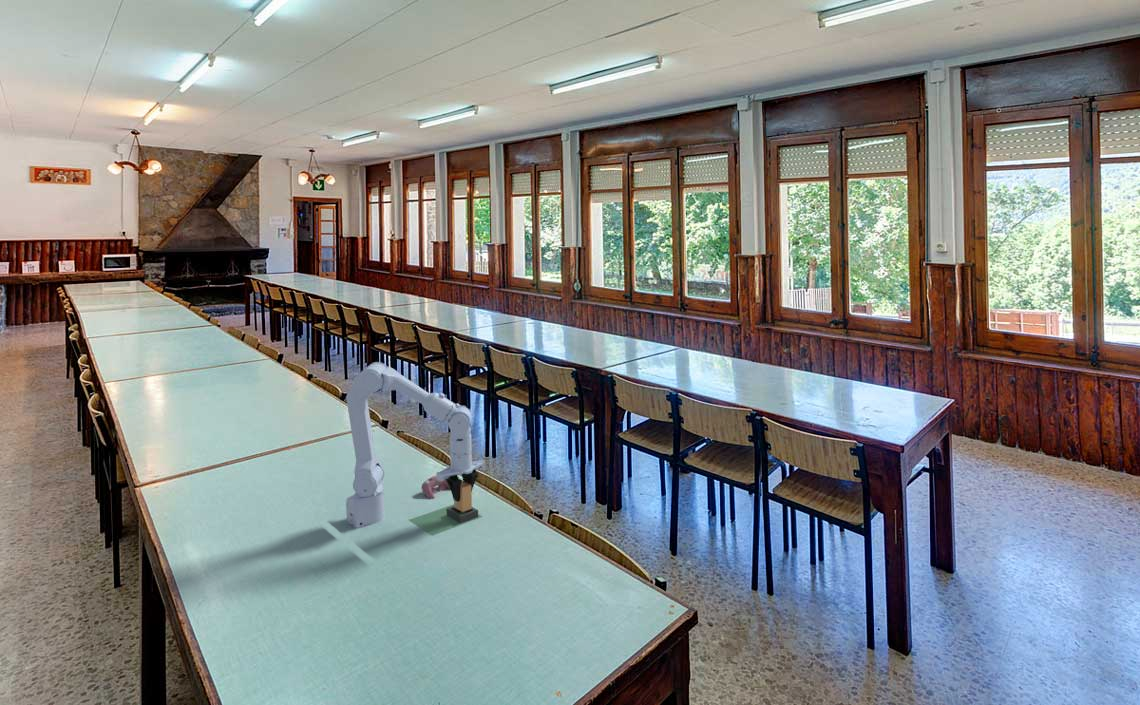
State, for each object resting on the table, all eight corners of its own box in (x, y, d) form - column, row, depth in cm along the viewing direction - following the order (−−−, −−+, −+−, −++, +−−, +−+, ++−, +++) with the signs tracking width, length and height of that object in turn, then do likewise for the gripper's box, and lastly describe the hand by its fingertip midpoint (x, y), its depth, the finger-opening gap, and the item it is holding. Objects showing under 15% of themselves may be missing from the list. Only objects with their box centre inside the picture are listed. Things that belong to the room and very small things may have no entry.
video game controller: (450, 494, 190) (442, 473, 191) (458, 491, 188) (451, 470, 188) (424, 504, 183) (417, 482, 184) (433, 502, 180) (425, 479, 181)
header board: (432, 539, 159) (432, 528, 158) (409, 523, 167) (408, 512, 167) (482, 520, 170) (482, 509, 169) (458, 506, 178) (458, 496, 178)
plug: (462, 512, 167) (462, 487, 165) (454, 507, 169) (453, 483, 168) (471, 508, 169) (471, 484, 167) (463, 504, 171) (462, 480, 170)
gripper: (446, 462, 158) (447, 511, 161) (491, 449, 168) (491, 495, 171) (431, 455, 163) (433, 502, 166) (476, 442, 173) (477, 488, 176)
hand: (462, 498), depth 169 cm, fingers closed on plug, 3 cm apart
